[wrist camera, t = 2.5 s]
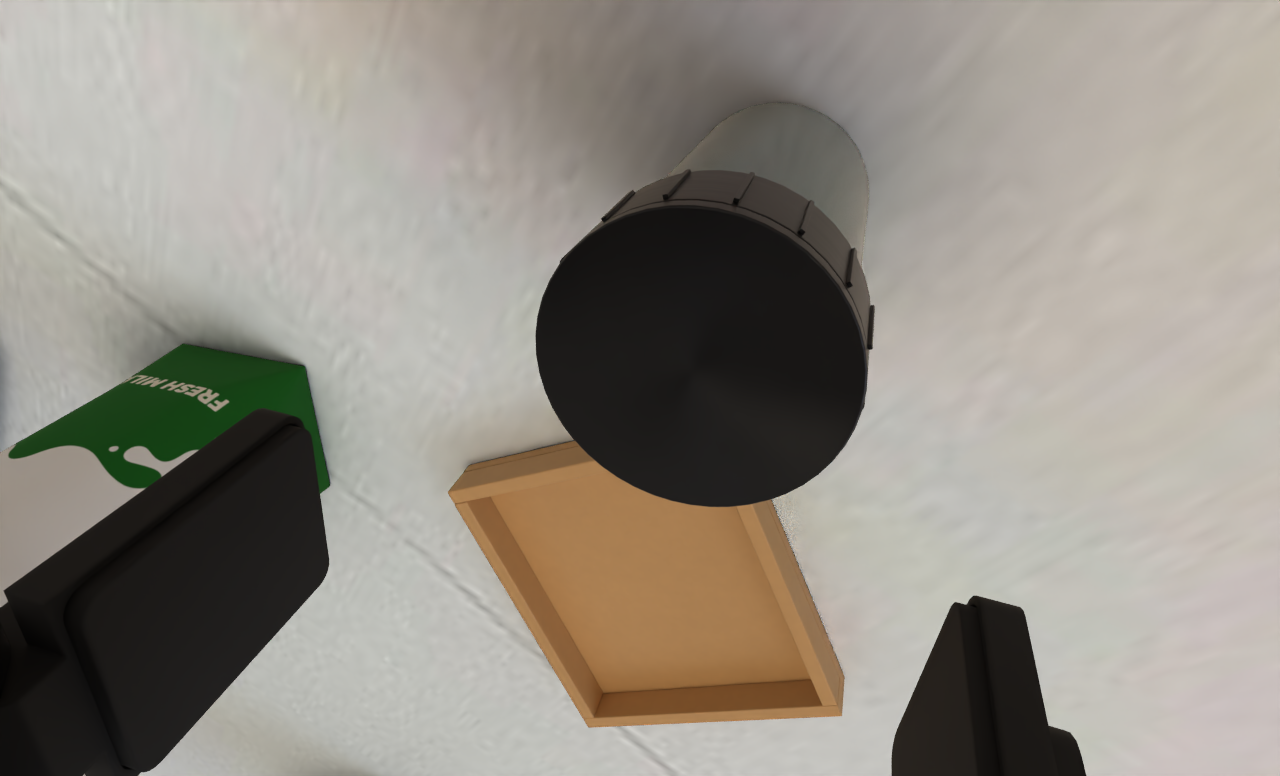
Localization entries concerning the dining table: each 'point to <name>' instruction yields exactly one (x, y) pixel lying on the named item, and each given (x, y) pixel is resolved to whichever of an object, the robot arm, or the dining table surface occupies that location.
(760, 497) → the lid
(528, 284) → the dining table surface
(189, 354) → the milk carton
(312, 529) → the robot arm
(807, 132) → the jar
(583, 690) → the tray
